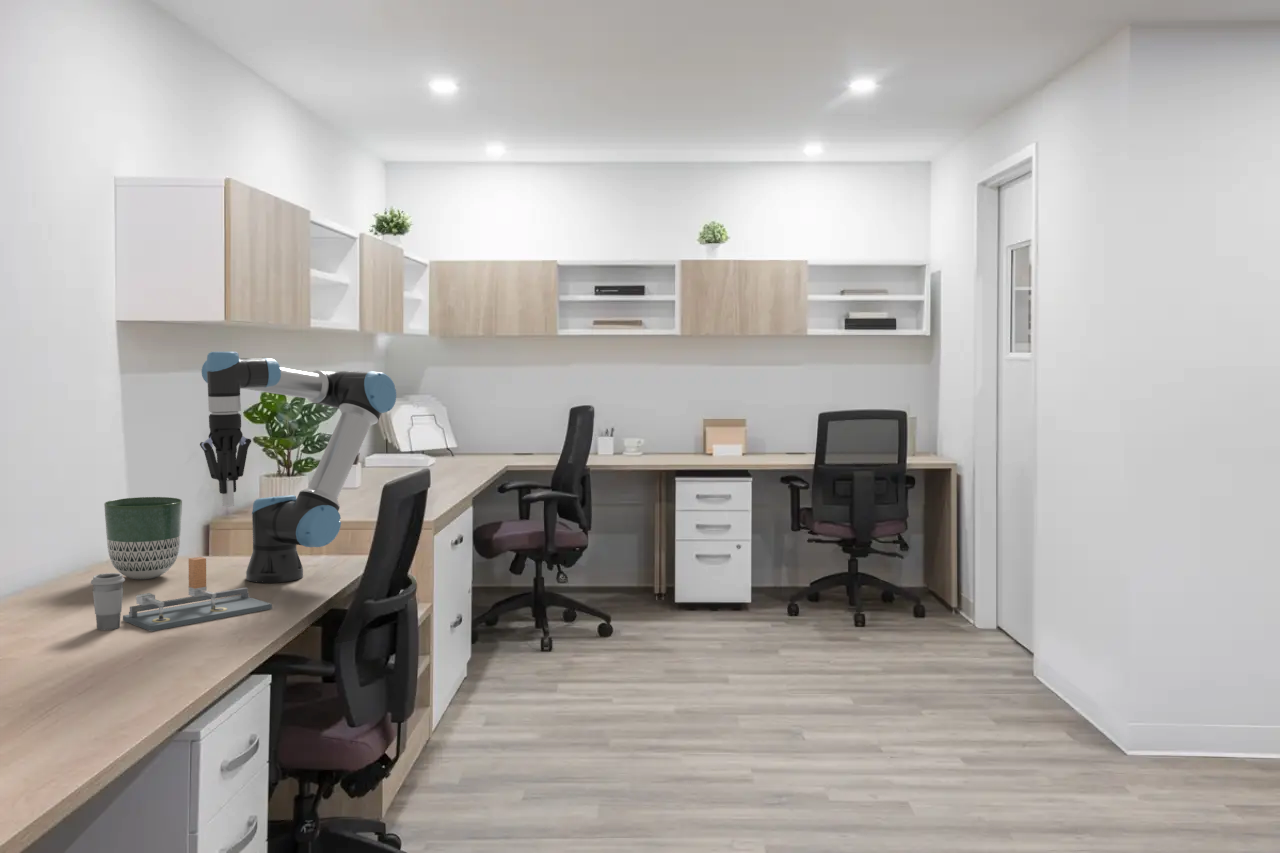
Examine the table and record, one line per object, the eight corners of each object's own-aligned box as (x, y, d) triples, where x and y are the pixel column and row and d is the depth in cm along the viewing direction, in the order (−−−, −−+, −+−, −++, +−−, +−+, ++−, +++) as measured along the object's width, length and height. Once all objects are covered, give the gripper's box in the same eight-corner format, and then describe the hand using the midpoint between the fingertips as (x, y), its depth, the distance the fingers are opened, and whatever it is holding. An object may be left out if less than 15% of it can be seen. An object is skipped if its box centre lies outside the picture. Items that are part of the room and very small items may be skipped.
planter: (175, 584, 283) (175, 505, 282) (97, 586, 279) (96, 507, 277) (188, 569, 302) (187, 496, 301) (115, 571, 297) (114, 497, 296)
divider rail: (243, 596, 266) (243, 577, 265) (264, 602, 260) (263, 583, 259) (127, 616, 243) (127, 596, 243) (146, 623, 237) (146, 603, 237)
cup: (113, 622, 242) (112, 571, 241) (132, 626, 239) (131, 574, 238) (84, 629, 236) (83, 576, 235) (103, 633, 233) (102, 580, 232)
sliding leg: (200, 602, 257) (200, 556, 256) (220, 608, 251) (219, 562, 250) (188, 604, 254) (188, 558, 254) (208, 610, 248) (207, 563, 248)
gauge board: (242, 599, 267) (242, 594, 267) (272, 608, 258) (272, 603, 258) (122, 620, 244) (122, 615, 244) (151, 631, 235) (150, 625, 235)
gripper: (240, 410, 269) (243, 500, 271) (192, 413, 259) (196, 507, 261) (256, 412, 264) (260, 503, 266) (208, 415, 254) (212, 511, 256)
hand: (228, 505), depth 264 cm, fingers closed
